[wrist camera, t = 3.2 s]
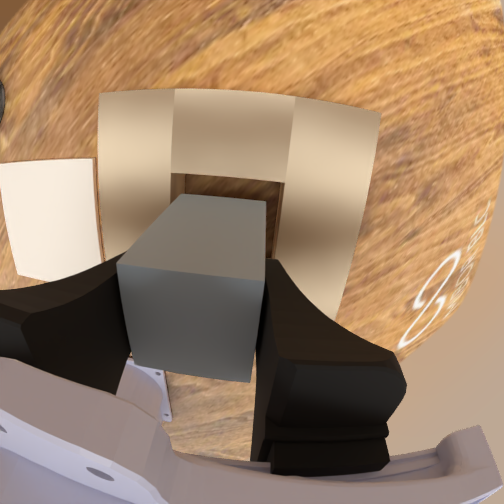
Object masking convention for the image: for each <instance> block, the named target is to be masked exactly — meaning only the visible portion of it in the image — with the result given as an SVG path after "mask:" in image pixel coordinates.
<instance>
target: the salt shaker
mask: <svg viewBox="0 0 504 504" xmlns="http://www.w3.org/2000/svg"><path fill="white" fill-rule="evenodd" d="M4 107H5V92H4V87H3V84H2V82H1V81H0V122H1V120H2V116H3V113H4Z"/></svg>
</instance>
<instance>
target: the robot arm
mask: <svg viewBox="0 0 504 504" xmlns="http://www.w3.org/2000/svg"><path fill="white" fill-rule="evenodd" d="M126 252H127V251H126ZM126 252H124V253H122V254H119V255H117V256H115V257H113V258H111V259H109V260H107V261H105V262H103V263H101V264H98V265H96V266H94V267H92V268H89V269H87V270H85V271H82V272H80V273H77V274H75V275H72V276H69V277H66V278H63V279H60V280H56V281H52V282H48V283H44V284H41V285H36V286H31V287H25V288H18V289H11V290H0V504H478V503H480V502H481V501H483V500H484V499H486V498H487V497H489V496H490V495H492V494H493V493H495V492H496V491H498V490H499V489H500V488H502V486H503V483H502V479H501V477H500V474H499V471H498V468H497V465H496V463H495V460H494V458H493V455H492V452H491V450H490V448H489V445H488V443H487V440H486V438H485V435H484V433H483V431H482V429H481V426H480V425H477V426H473V427H470V428H466V429H463V430H459V431H455V432H453V433H451V434H449V435H447V436H446V437H445V438H444V439H443V440H442V441H441V442H440V443H439V444H438V445H437V447H436V448H432V449H427V450H422V451H417V452H412V453H407V454H401V455H395V456H389V453H388V449H387V445H386V440H385V438H386V437H387V436H388V435H389V430H388V426H387V423H386V422H387V421H388V419H389V418H390V417H391V415H392V414H393V412H394V411H395V410H396V408H397V406H398V405H399V404H400V402H401V401H402V399H403V397H404V395H405V393H406V387H407V384H406V381H405V378H404V376H403V373H402V370H401V367H400V365H399V363H398V361H397V358H396V356H395V355H394V353H393V352H392V351H389V350H387V349H385V348H382V347H380V346H378V345H375V344H373V343H371V342H368V341H366V340H364V339H362V338H361V337H359V336H357V335H355V334H353V333H351V332H350V331H348V330H347V329H345V328H343V327H342V326H340V325H339V324H338V323H336V322H335V321H333V320H332V319H330V318H329V317H328V316H327V315H325V314H324V313H323V312H322V311H321V310H319V309H318V308H317V307H316V306H315V305H314V304H313V303H312V302H311V301H310V300H309V299H308V298H307V297H306V296H305V295H304V294H303V293H302V292H301V291H300V290H299V288H298V287H297V286H296V284H295V283H294V282H293V281H292V279H291V278H290V276H289V275H288V273H287V272H286V271H285V269H284V267H283V266H282V264H281V263H280V261H279V260H278V259H268V258H265V283H264V290H263V298H262V305H261V312H260V319H259V326H258V333H257V340H256V347H255V349H256V394H255V408H254V421H253V433H252V445H251V456H250V461H240V460H230V459H221V458H213V457H206V456H199V455H193V454H187V453H181V452H178V451H175V450H173V449H172V446H171V442H170V438H169V436H168V434H167V433H166V432H165V430H164V429H163V428H162V426H161V425H162V422H163V421H167V422H171V421H172V413H171V407H170V402H169V396H168V391H167V385H166V379H165V373H164V371H163V370H157V369H152V368H147V367H142V366H138V365H134V361H133V358H128V357H129V355H130V353H131V347H130V343H129V338H128V333H127V328H126V323H125V317H124V312H123V306H122V300H121V294H120V287H119V281H118V273H117V266H116V263H117V262H118V261H119V259H120V258H121V257H122V256H123V255H124V254H125V253H126Z"/></svg>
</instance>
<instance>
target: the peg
mask: <svg viewBox="0 0 504 504" xmlns="http://www.w3.org/2000/svg"><path fill="white" fill-rule="evenodd" d="M265 244H266V201H258V200H248V199H238V198H228V197H217V196H205V195H193V194H180V195H179V196H178V197H177V198H176V199H175V200H174V201H173V202H172V203H171V204H170V205H169V206H168V208H167V209H166V210H165V211H164V212H163V213H162V214H161V215H160V216H159V217H158V218H157V219H156V220H155V221H154V222H153V223H152V224H151V225H150V226H149V227H148V228H147V230H146V231H145V232H144V233H143V234H142V235H141V236H140V237H139V238H138V239H137V240H136V242H135V243H134V244H133V245H132V246H131V247H130V248H129V249H128V250H127V252H126V253H125V254H124V255H123V256H122V257H121V258H120V259H119V261H118V262H117V263H116V266H117V273H118V281H119V287H120V294H121V300H122V306H123V312H124V317H125V323H126V328H127V333H128V338H129V343H130V347H131V352H132V356H133V361H134V365H138V366H142V367H147V368H152V369H157V370H163V371H168V372H174V373H179V374H186V375H192V376H198V377H205V378H213V379H220V380H228V381H237V382H247V383H250V380H251V374H252V367H253V360H254V353H255V347H256V340H257V333H258V326H259V319H260V312H261V305H262V298H263V290H264V283H265Z"/></svg>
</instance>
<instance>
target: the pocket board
mask: <svg viewBox="0 0 504 504" xmlns="http://www.w3.org/2000/svg"><path fill="white" fill-rule="evenodd" d="M380 119H381V113H379V112H375V111H371V110H367V109H362V108H358V107H353V106H348V105H344V104H338V103H333V102H328V101H322V100H316V99H310V98H303V97H296V96H289V95H281V94H272V93H263V92H252V91H239V90H221V89H147V90H130V91H117V92H107V93H99V109H98V176H99V195H100V209H101V221H102V231H103V240H104V248H105V256H106V261H107V260H109V259H111V258H113V257H115V256H117V255H119V254H122V253H124V252H126V251H127V250H128V249H129V248H130V247H131V246H132V245H133V244H134V243H135V242H136V240H137V239H138V238H139V237H140V236H141V235H142V234H143V233H144V232H145V231H146V230H147V228H148V227H149V226H150V225H151V224H152V223H153V222H154V221H155V220H156V219H157V218H158V217H159V216H160V215H161V214H162V213H163V212H164V211H165V210H166V209H167V208H168V206H169V205H170V204H171V203H172V202H173V201H174V200H175V199H176V198H177V197H178V196H179V195H180V194H185V174H199V175H213V176H225V177H236V178H247V179H257V180H266V181H275V182H281V185H280V193H279V200H278V208H277V216H276V223H275V231H274V238H273V246H272V253H271V258H268V259H278V260H279V261H280V263H281V264H282V266H283V267H284V269H285V271H286V272H287V273H288V275H289V276H290V278H291V279H292V281H293V282H294V283H295V284H296V286H297V287H298V288H299V290H300V291H301V292H302V293H303V294H304V295H305V296H306V297H307V298H308V299H309V300H310V301H311V302H312V303H313V304H314V305H315V306H316V307H317V308H318V309H319V310H321V311H322V312H323V313H324V314H325V315H327V316H328V317H329V318H330V319H332V320H333V321H335V318H336V315H337V312H338V309H339V305H340V302H341V299H342V295H343V292H344V288H345V285H346V281H347V278H348V274H349V270H350V267H351V263H352V259H353V255H354V251H355V247H356V243H357V239H358V235H359V231H360V227H361V222H362V218H363V214H364V209H365V204H366V200H367V195H368V190H369V185H370V180H371V174H372V169H373V164H374V158H375V152H376V146H377V140H378V133H379V126H380Z"/></svg>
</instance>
